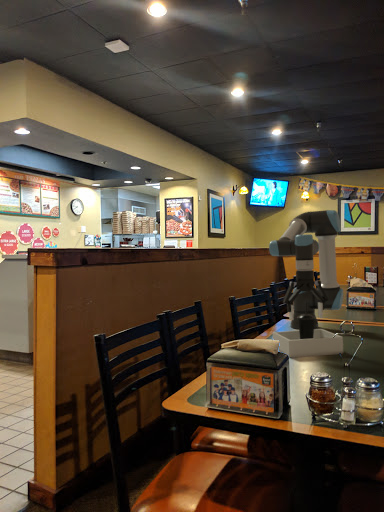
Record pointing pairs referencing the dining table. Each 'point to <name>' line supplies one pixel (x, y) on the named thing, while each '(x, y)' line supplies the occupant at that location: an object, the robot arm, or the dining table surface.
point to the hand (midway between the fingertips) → (306, 318)
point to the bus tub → (309, 343)
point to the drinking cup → (306, 325)
